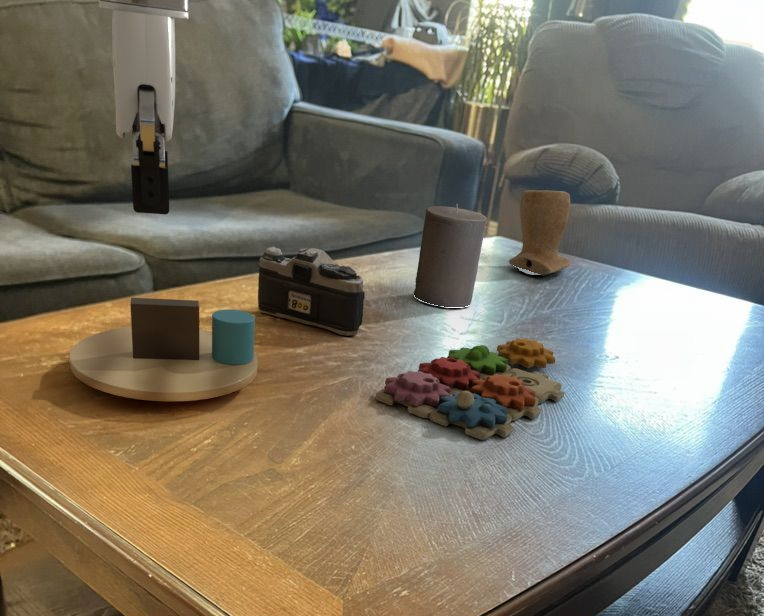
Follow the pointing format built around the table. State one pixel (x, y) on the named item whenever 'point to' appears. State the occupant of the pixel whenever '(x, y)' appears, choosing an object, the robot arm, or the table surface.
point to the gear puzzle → (477, 388)
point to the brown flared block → (542, 231)
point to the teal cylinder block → (232, 337)
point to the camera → (311, 290)
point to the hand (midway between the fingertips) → (152, 201)
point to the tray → (155, 374)
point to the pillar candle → (449, 256)
